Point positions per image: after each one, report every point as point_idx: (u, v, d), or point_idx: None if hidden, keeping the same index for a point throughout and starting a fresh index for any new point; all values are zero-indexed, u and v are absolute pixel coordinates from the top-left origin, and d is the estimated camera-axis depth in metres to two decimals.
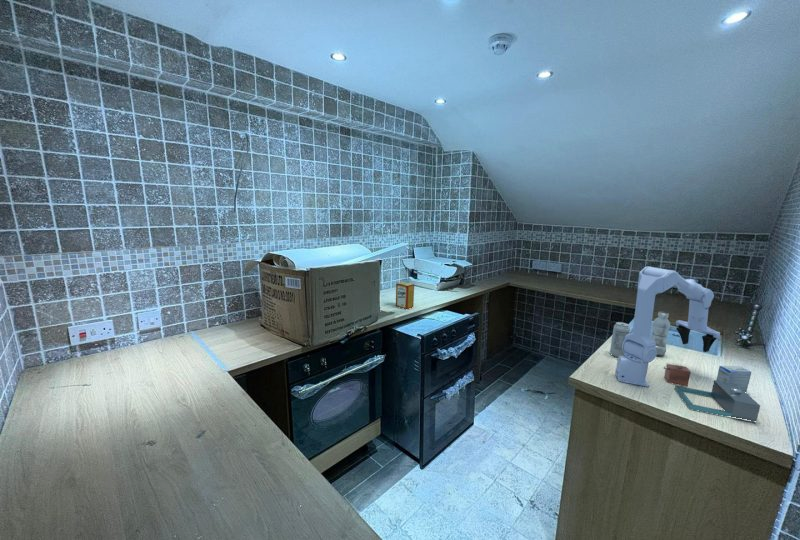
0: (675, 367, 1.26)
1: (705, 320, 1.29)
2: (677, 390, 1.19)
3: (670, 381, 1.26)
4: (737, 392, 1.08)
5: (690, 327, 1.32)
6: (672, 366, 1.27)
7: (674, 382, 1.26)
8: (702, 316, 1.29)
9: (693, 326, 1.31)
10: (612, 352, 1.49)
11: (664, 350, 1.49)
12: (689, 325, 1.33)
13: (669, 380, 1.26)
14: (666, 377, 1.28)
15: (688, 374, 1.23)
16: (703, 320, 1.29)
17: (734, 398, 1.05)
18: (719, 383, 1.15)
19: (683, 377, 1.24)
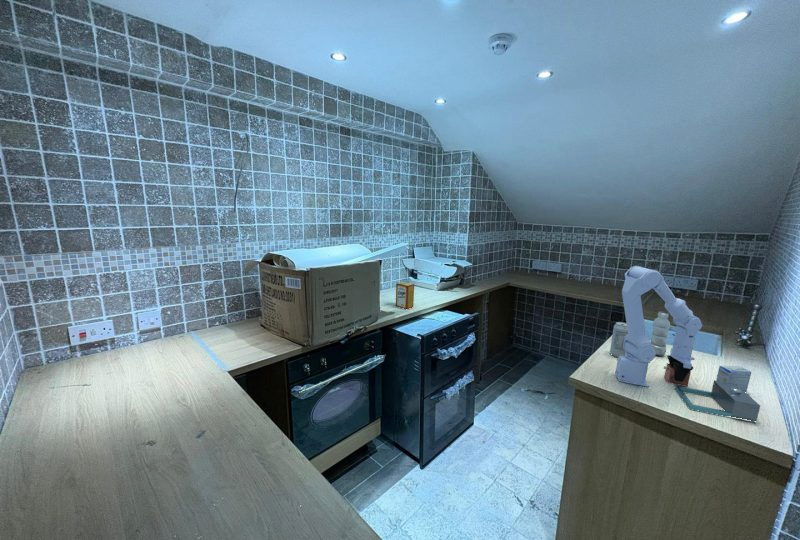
0: None
1: (684, 349, 1.22)
2: (677, 390, 1.19)
3: (670, 381, 1.26)
4: (737, 392, 1.08)
5: (671, 353, 1.27)
6: (672, 366, 1.27)
7: (674, 382, 1.26)
8: (684, 344, 1.22)
9: (672, 352, 1.26)
10: (612, 352, 1.49)
11: (664, 350, 1.49)
12: (671, 351, 1.27)
13: (669, 380, 1.26)
14: (666, 377, 1.28)
15: (688, 374, 1.23)
16: (682, 348, 1.23)
17: (734, 398, 1.05)
18: (719, 383, 1.15)
19: None
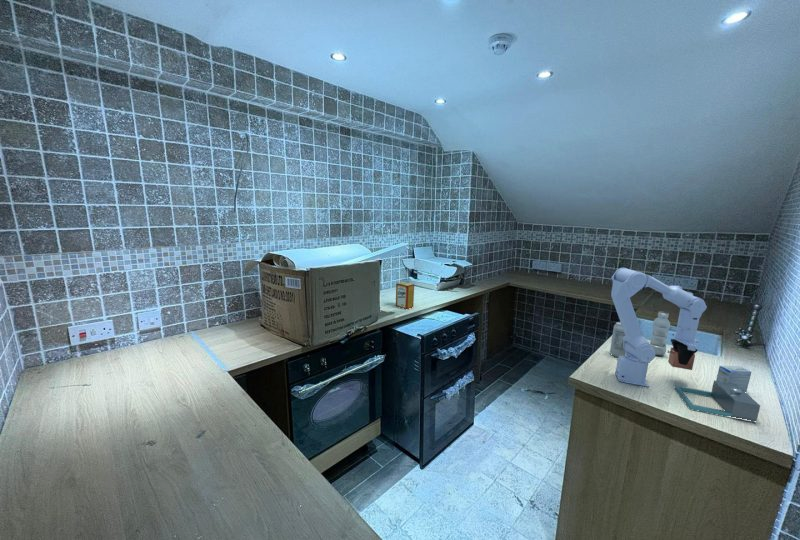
0: None
1: (688, 331, 1.21)
2: (677, 390, 1.19)
3: (674, 365, 1.24)
4: (737, 392, 1.08)
5: (674, 336, 1.25)
6: (676, 350, 1.25)
7: (678, 366, 1.24)
8: (688, 326, 1.21)
9: (676, 335, 1.24)
10: (612, 352, 1.49)
11: (664, 350, 1.49)
12: (675, 334, 1.26)
13: (673, 364, 1.25)
14: (670, 361, 1.27)
15: (692, 357, 1.22)
16: (686, 330, 1.21)
17: (734, 398, 1.05)
18: (719, 383, 1.15)
19: None
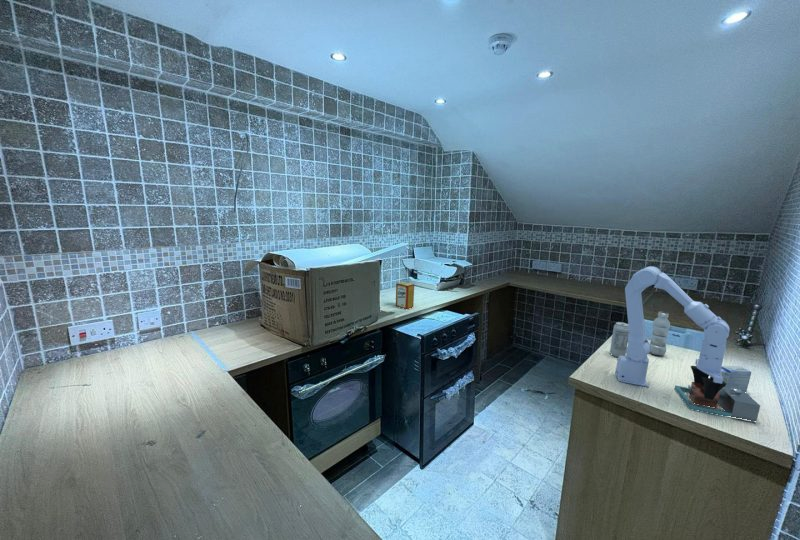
0: (702, 386, 1.12)
1: (714, 361, 1.08)
2: (677, 390, 1.19)
3: (696, 402, 1.12)
4: (737, 392, 1.08)
5: (697, 365, 1.13)
6: (698, 385, 1.13)
7: (701, 403, 1.12)
8: (705, 353, 1.10)
9: (699, 364, 1.12)
10: (612, 352, 1.49)
11: (664, 350, 1.49)
12: (698, 363, 1.13)
13: (695, 401, 1.12)
14: (691, 397, 1.15)
15: (717, 395, 1.10)
16: (710, 360, 1.08)
17: (734, 398, 1.05)
18: None
19: None
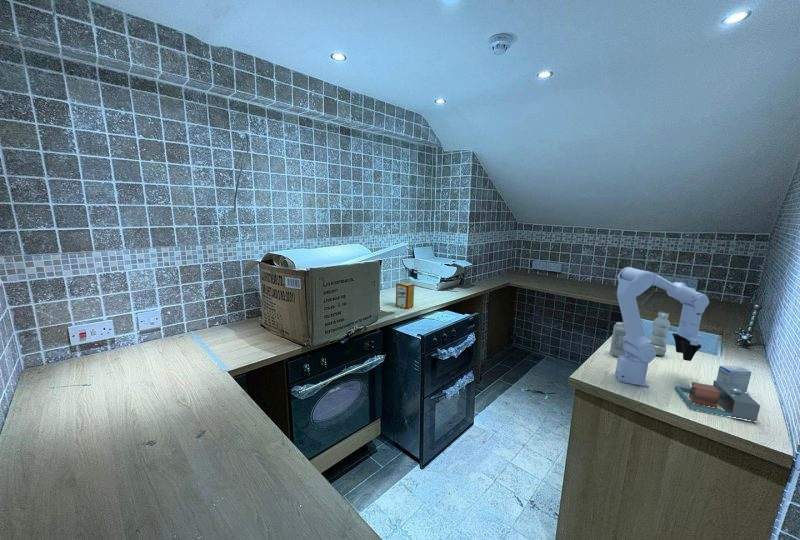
0: (702, 386, 1.12)
1: (691, 326, 1.22)
2: (677, 390, 1.19)
3: (696, 402, 1.12)
4: (737, 392, 1.08)
5: (677, 331, 1.27)
6: (698, 385, 1.13)
7: (701, 403, 1.12)
8: (692, 322, 1.22)
9: (679, 330, 1.26)
10: (612, 352, 1.49)
11: (664, 350, 1.49)
12: (678, 330, 1.27)
13: (695, 401, 1.12)
14: (691, 397, 1.15)
15: (717, 395, 1.10)
16: (688, 325, 1.23)
17: (734, 398, 1.05)
18: (719, 383, 1.15)
19: (711, 398, 1.10)
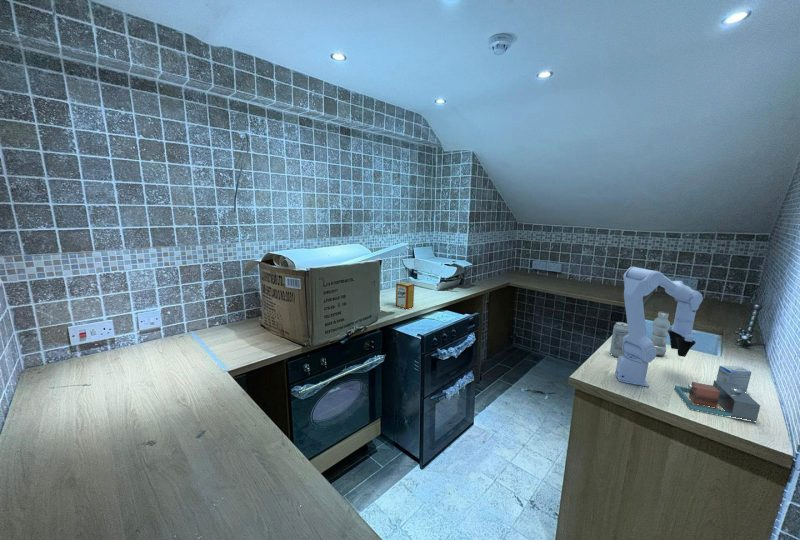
0: (702, 386, 1.12)
1: (686, 323, 1.26)
2: (677, 390, 1.19)
3: (696, 402, 1.12)
4: (737, 392, 1.08)
5: (672, 328, 1.30)
6: (698, 385, 1.13)
7: (701, 403, 1.12)
8: (688, 319, 1.25)
9: (674, 327, 1.29)
10: (612, 352, 1.49)
11: (664, 350, 1.49)
12: (673, 326, 1.31)
13: (695, 401, 1.12)
14: (691, 397, 1.15)
15: (717, 395, 1.10)
16: (683, 322, 1.26)
17: (734, 398, 1.05)
18: (719, 383, 1.15)
19: (711, 398, 1.10)
